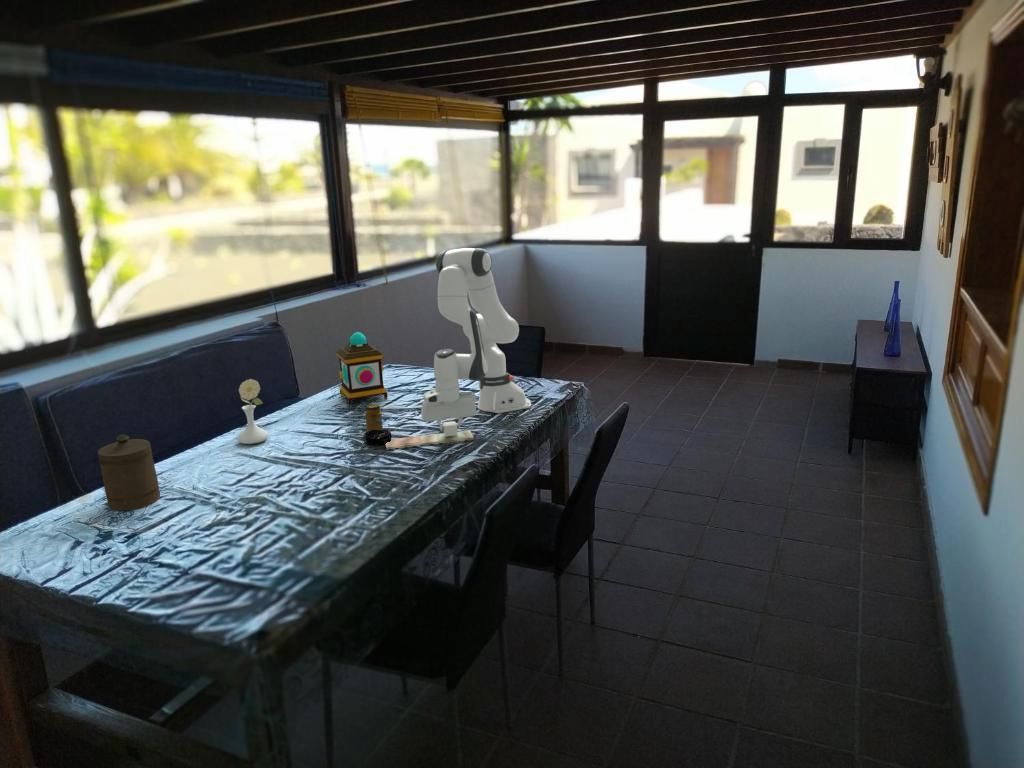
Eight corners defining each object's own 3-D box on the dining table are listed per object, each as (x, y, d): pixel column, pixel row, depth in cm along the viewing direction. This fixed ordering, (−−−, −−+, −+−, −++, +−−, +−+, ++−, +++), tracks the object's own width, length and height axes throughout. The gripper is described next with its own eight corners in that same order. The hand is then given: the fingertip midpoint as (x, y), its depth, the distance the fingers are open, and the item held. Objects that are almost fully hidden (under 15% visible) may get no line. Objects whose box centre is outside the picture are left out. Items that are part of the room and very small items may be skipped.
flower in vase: (231, 444, 280) (221, 380, 273) (254, 434, 290) (245, 372, 283) (256, 449, 274) (246, 384, 267) (278, 438, 284) (270, 376, 277)
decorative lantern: (336, 395, 336) (329, 330, 327) (379, 388, 344) (373, 325, 335) (346, 407, 318) (339, 339, 310) (391, 400, 326) (385, 333, 318)
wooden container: (147, 487, 245) (134, 424, 238) (169, 498, 236) (156, 433, 229) (100, 503, 234) (86, 438, 228) (121, 515, 225) (107, 447, 218)
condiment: (378, 431, 288) (376, 401, 285) (390, 436, 282) (387, 406, 278) (362, 435, 284) (359, 406, 280) (373, 441, 277) (370, 411, 274)
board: (470, 432, 282) (470, 429, 282) (473, 439, 275) (473, 436, 274) (385, 442, 276) (384, 439, 276) (386, 449, 268) (386, 446, 268)
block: (455, 431, 279) (454, 421, 278) (457, 435, 275) (456, 425, 274) (443, 432, 278) (442, 422, 277) (445, 436, 274) (444, 426, 273)
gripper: (474, 388, 277) (476, 423, 281) (419, 394, 273) (422, 429, 277) (477, 393, 271) (479, 429, 275) (421, 399, 267) (423, 435, 271)
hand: (450, 429), depth 276 cm, fingers closed on block, 4 cm apart
